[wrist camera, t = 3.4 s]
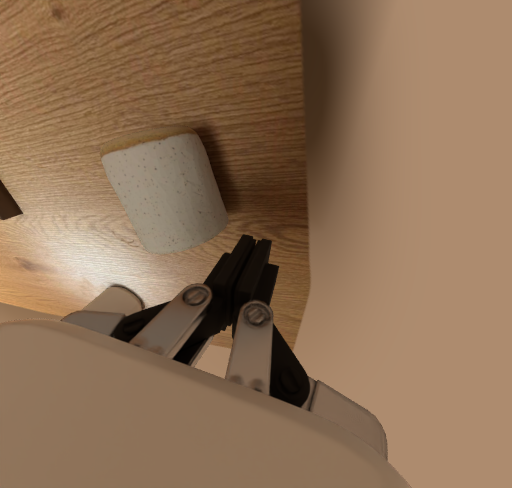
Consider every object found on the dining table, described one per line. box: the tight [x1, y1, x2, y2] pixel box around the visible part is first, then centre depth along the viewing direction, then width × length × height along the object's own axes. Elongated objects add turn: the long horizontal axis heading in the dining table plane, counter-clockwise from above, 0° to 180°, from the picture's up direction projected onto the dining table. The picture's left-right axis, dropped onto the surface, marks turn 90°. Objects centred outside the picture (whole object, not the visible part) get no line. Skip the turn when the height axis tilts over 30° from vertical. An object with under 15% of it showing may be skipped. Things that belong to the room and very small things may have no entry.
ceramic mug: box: [100, 126, 228, 254], centre depth 16 cm, size 11×8×8 cm
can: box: [81, 287, 142, 316], centre depth 32 cm, size 8×8×12 cm
